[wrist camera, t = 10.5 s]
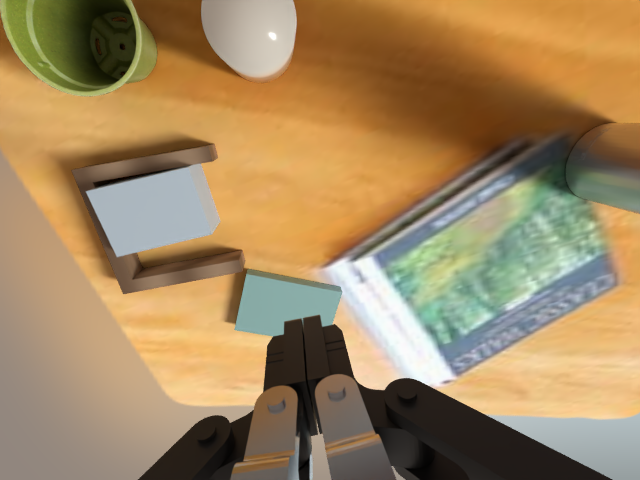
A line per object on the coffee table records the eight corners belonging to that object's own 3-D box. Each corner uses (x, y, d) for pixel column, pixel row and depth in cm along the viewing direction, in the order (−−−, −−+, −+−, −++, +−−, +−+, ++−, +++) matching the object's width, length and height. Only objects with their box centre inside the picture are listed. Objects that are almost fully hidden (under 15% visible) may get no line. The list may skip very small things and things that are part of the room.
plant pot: (182, 101, 35) (150, 95, 26) (85, 101, 34) (22, 96, 26) (167, -8, 31) (126, -52, 23) (60, -10, 31) (-22, -56, 22)
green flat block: (339, 285, 44) (342, 292, 42) (323, 335, 47) (325, 344, 45) (248, 267, 42) (246, 274, 40) (236, 321, 44) (234, 330, 43)
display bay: (214, 144, 36) (208, 146, 33) (245, 261, 41) (242, 271, 38) (88, 166, 36) (71, 170, 33) (134, 282, 41) (123, 294, 38)
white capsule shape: (307, 36, 34) (314, 8, 25) (269, 97, 35) (264, 90, 27) (246, -15, 32) (233, -63, 23) (209, 52, 33) (183, 30, 25)
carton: (200, 161, 37) (188, 167, 32) (220, 220, 39) (212, 234, 35) (111, 182, 37) (85, 191, 32) (137, 240, 39) (116, 257, 35)
